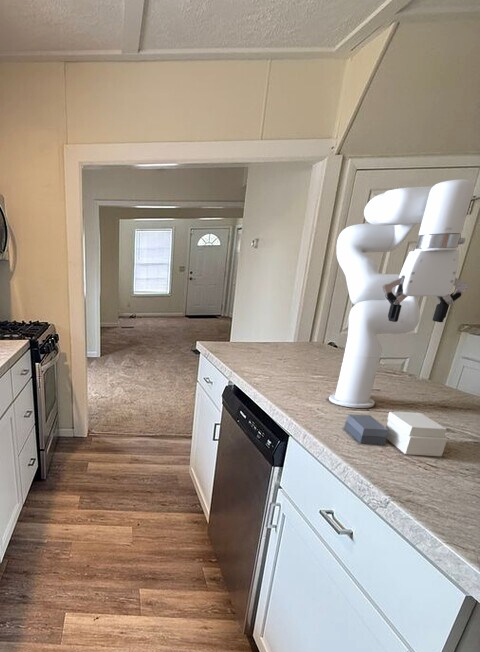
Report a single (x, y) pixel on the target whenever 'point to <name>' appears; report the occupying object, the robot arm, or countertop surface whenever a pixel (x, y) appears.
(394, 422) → the white book
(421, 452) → the white books
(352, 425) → the grey books
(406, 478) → the countertop surface
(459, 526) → the countertop surface
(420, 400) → the countertop surface
